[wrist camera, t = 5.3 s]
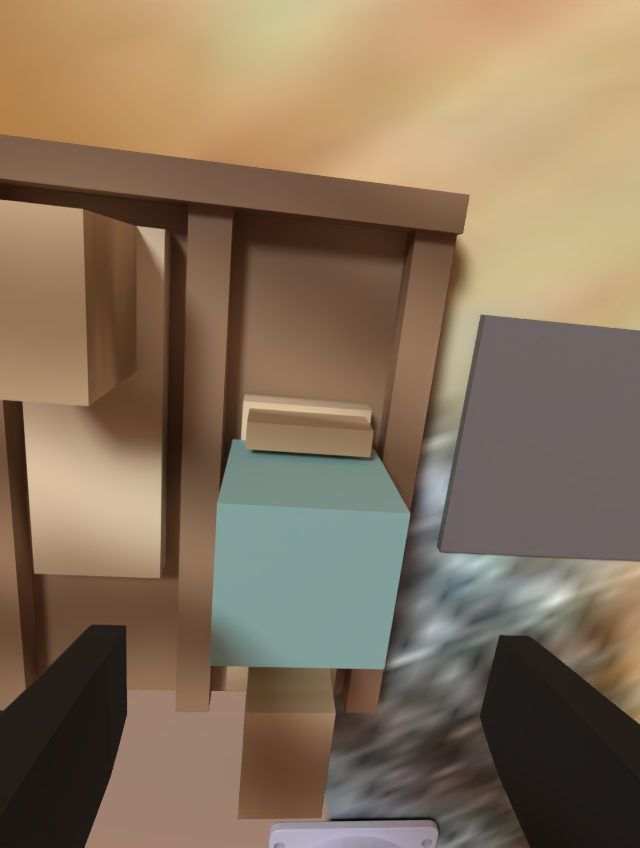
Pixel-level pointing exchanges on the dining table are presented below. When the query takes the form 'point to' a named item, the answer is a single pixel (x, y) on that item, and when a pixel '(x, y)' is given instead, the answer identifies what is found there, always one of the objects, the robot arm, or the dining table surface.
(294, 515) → the cube
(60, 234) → the strip
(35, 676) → the lane board
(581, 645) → the dining table surface
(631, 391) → the felt pad
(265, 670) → the strip
